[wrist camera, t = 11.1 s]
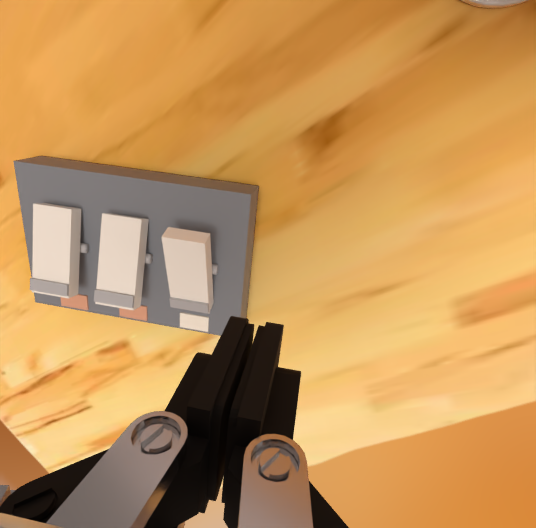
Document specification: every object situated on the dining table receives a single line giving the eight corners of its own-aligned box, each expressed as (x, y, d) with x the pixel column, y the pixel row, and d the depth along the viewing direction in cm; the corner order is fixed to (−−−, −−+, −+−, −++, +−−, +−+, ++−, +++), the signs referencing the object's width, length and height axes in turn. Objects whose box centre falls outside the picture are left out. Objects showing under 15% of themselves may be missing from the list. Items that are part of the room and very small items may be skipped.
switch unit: (41, 155, 42) (6, 162, 38) (258, 185, 40) (249, 196, 35) (57, 287, 48) (29, 305, 44) (246, 319, 46) (236, 343, 42)
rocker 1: (44, 203, 39) (30, 203, 37) (81, 208, 39) (69, 209, 37) (42, 288, 41) (29, 292, 39) (78, 294, 41) (66, 299, 39)
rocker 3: (168, 226, 36) (160, 238, 34) (210, 233, 35) (203, 245, 34) (177, 296, 42) (170, 309, 40) (213, 302, 41) (208, 315, 40)
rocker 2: (110, 213, 39) (100, 213, 37) (148, 219, 38) (140, 219, 37) (103, 300, 40) (93, 304, 38) (140, 306, 40) (131, 311, 38)
